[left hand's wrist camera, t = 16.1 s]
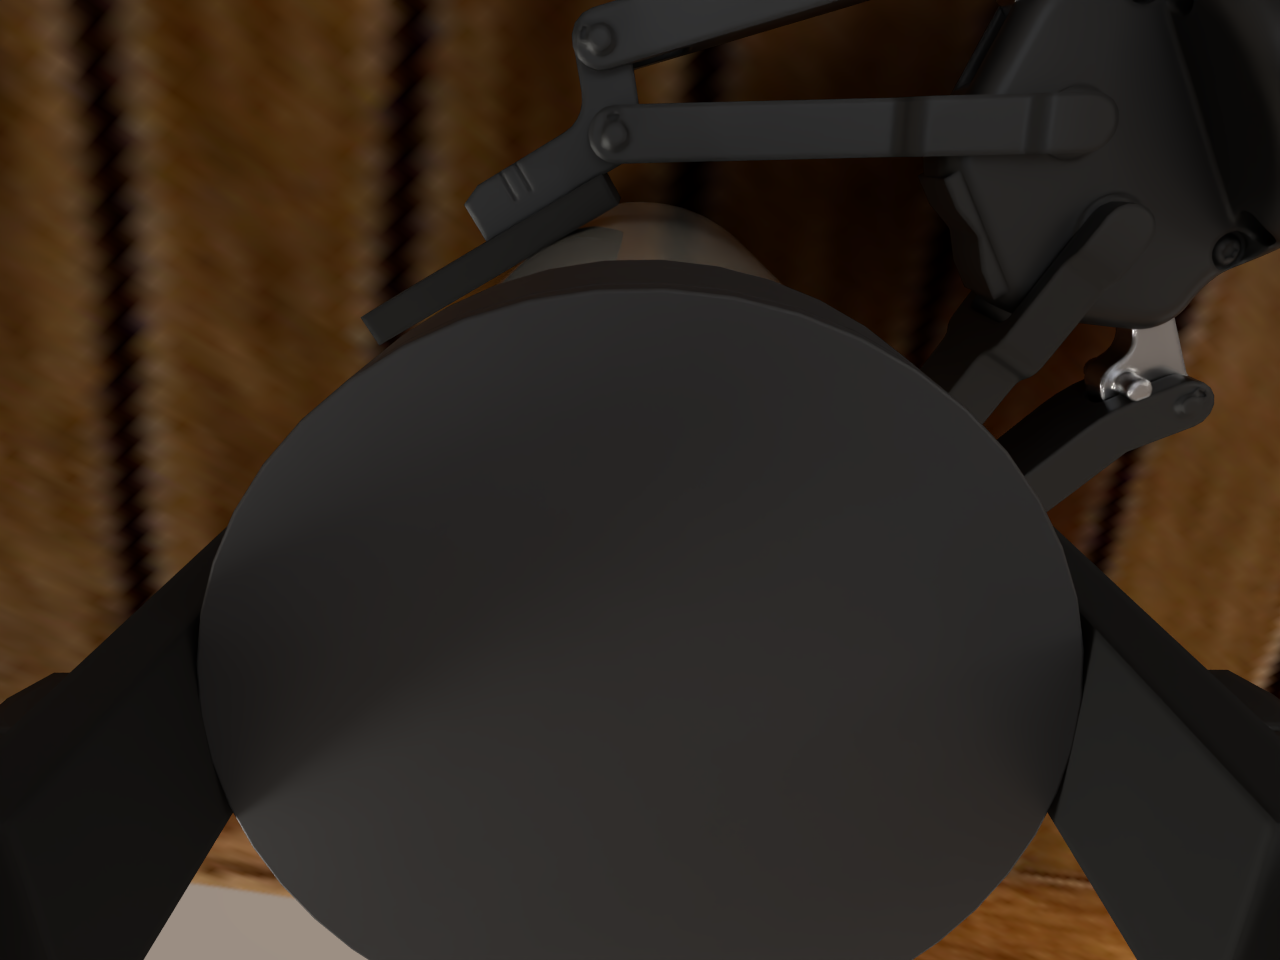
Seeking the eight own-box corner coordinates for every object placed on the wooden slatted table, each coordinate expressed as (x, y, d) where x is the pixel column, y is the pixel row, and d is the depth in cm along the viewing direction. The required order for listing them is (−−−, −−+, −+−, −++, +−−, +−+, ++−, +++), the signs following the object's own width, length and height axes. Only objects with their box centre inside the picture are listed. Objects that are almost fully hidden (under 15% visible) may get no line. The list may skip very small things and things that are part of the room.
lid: (940, 918, 14) (992, 1052, 12) (306, 895, 14) (248, 1028, 12) (1082, 279, 11) (1191, 312, 8) (231, 237, 10) (127, 262, 8)
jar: (456, 420, 30) (174, 847, 12) (562, 149, 27) (399, 164, 9) (707, 524, 31) (799, 1050, 13) (834, 278, 28) (1184, 520, 10)
